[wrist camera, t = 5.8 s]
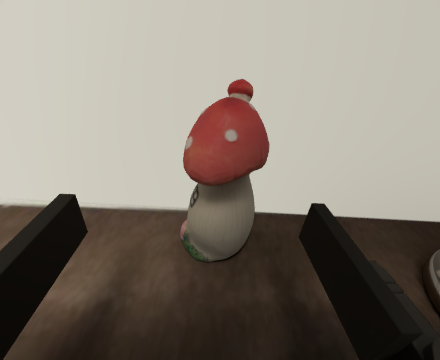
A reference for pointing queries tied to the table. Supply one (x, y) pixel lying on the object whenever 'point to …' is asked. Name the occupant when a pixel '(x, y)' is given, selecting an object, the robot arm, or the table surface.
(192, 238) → the decorative ornament
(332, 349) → the table surface
